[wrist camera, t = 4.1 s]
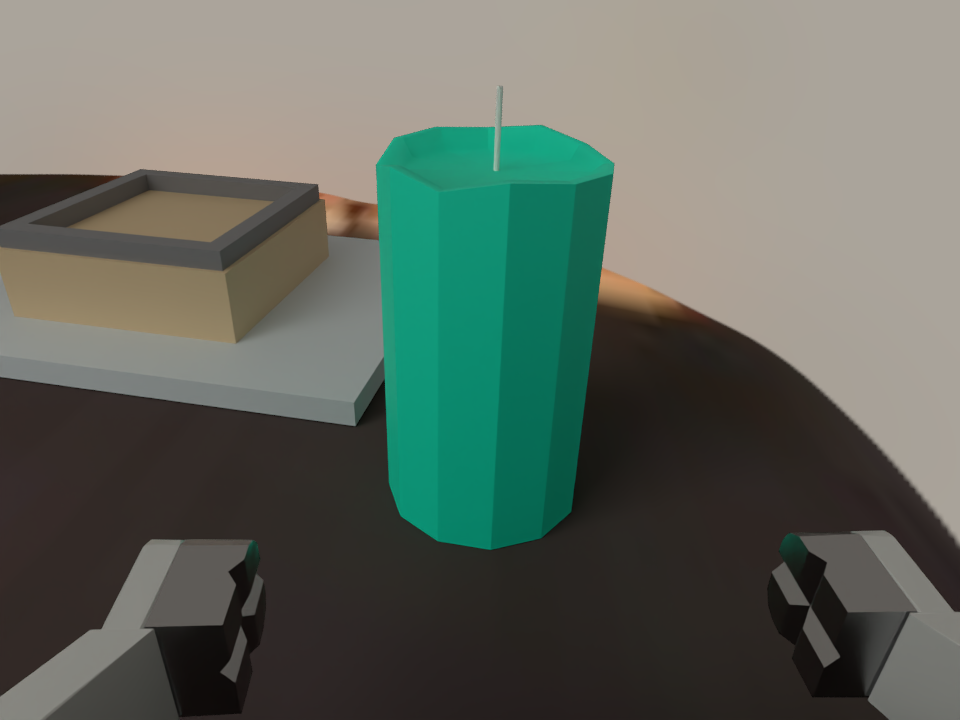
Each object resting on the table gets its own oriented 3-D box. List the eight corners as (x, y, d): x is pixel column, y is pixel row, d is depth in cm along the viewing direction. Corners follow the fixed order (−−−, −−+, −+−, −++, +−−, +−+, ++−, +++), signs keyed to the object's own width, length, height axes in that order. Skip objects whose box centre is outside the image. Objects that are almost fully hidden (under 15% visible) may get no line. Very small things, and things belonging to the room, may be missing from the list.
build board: (-167, 353, 28) (-221, 240, 26) (95, 228, 42) (74, 146, 40) (355, 426, 25) (347, 303, 23) (453, 264, 39) (454, 178, 36)
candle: (445, 411, 26) (448, 63, 20) (600, 459, 24) (655, 82, 18) (351, 508, 21) (318, 89, 15) (534, 578, 19) (578, 120, 13)
